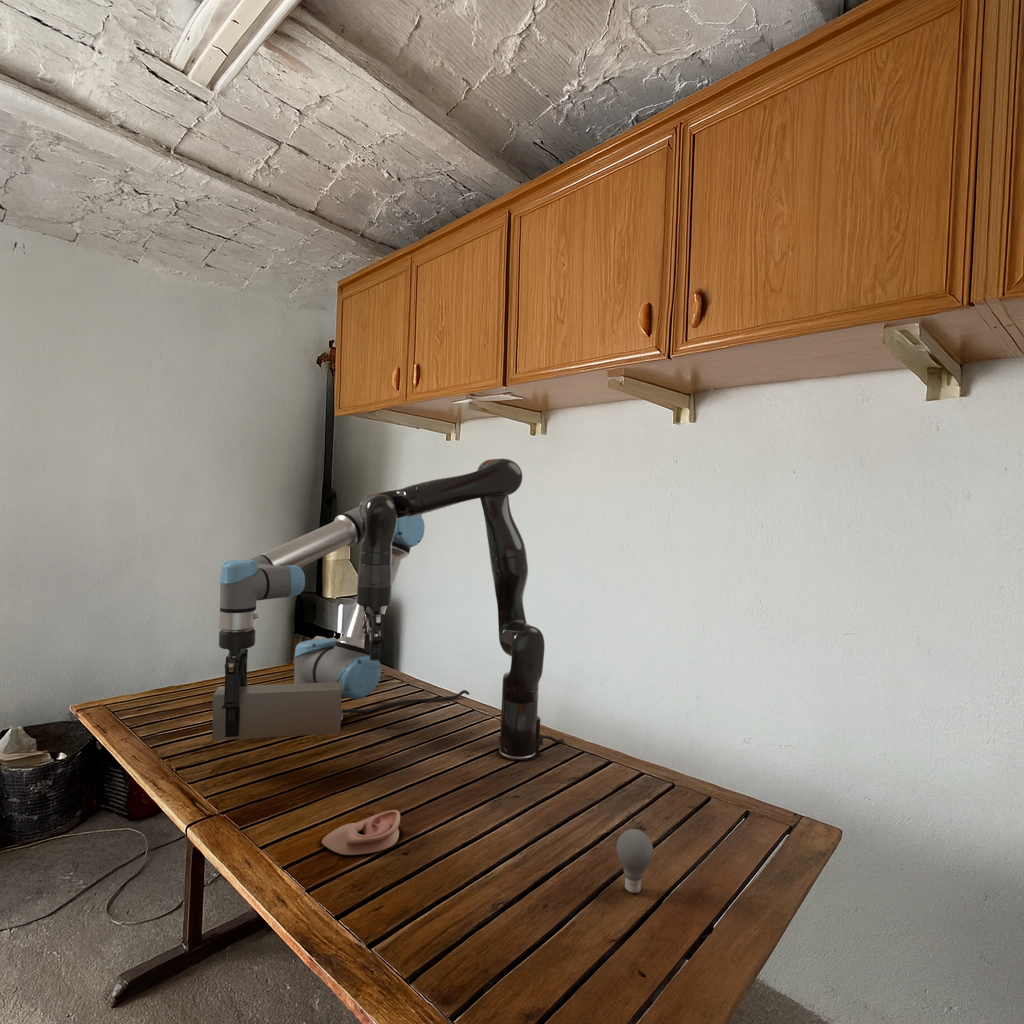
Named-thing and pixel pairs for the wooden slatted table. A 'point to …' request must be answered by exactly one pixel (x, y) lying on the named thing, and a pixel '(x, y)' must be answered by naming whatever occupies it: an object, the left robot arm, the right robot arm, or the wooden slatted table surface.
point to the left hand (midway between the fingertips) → (235, 730)
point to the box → (282, 710)
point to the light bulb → (634, 857)
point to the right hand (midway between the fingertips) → (371, 655)
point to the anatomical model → (365, 835)
